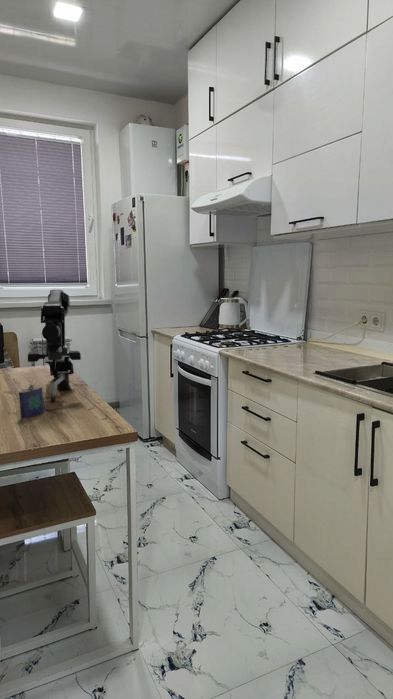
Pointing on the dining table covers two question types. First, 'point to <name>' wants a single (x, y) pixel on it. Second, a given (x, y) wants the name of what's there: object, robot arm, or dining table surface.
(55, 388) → the light wooden cube
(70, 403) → the dining table surface
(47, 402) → the plane body
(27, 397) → the flask
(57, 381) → the lever
